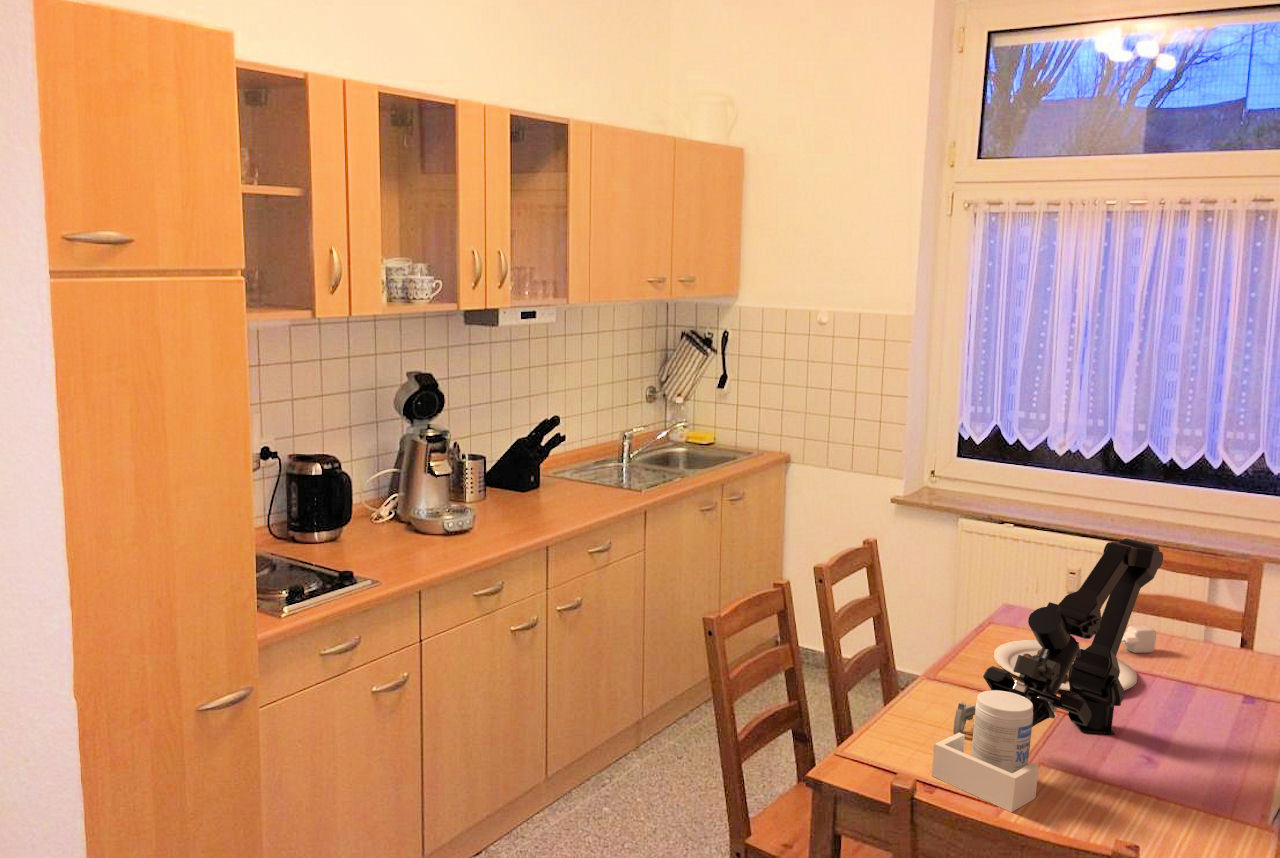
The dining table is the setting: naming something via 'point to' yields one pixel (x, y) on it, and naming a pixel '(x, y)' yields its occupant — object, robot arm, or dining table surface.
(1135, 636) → the power adapter
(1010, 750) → the supplement tub
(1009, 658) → the plated food
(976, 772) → the cradle
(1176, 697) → the dining table surface
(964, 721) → the caliper
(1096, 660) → the robot arm
